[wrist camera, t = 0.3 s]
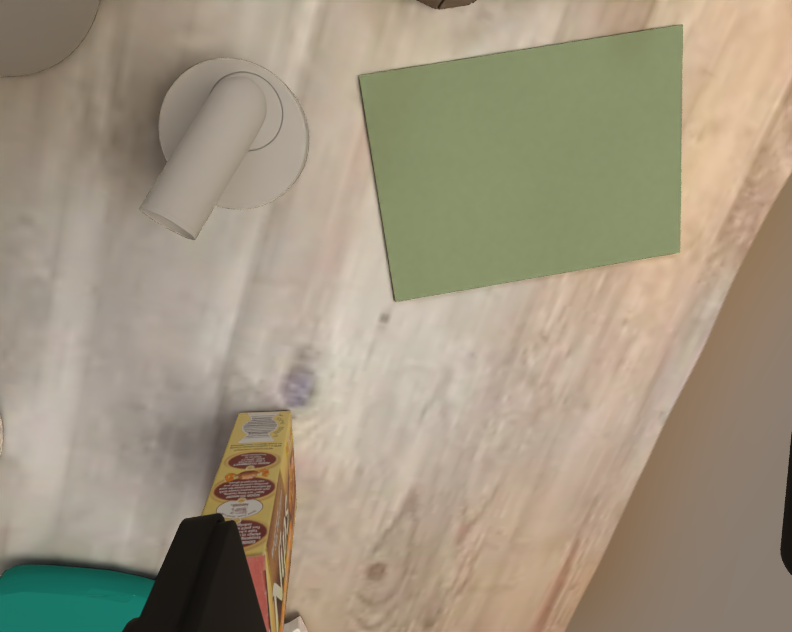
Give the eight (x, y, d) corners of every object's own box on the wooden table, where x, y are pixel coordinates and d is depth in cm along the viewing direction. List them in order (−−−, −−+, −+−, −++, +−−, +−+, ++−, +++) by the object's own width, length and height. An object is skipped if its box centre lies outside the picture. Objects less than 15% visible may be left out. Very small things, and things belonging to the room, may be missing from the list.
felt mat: (358, 75, 34) (358, 75, 34) (680, 25, 35) (683, 24, 35) (395, 300, 39) (395, 302, 39) (678, 251, 40) (680, 252, 40)
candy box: (236, 410, 41) (176, 560, 26) (294, 407, 41) (266, 554, 26) (247, 510, 43) (198, 697, 29) (301, 507, 44) (279, 689, 29)
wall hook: (68, 194, 26) (156, -6, 24) (139, 180, 35) (208, 34, 33) (233, 281, 28) (328, 103, 26) (261, 246, 37) (333, 113, 35)
